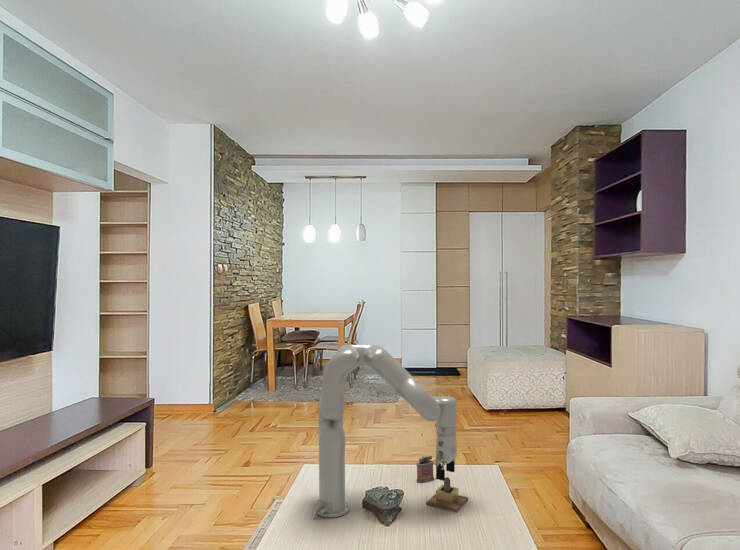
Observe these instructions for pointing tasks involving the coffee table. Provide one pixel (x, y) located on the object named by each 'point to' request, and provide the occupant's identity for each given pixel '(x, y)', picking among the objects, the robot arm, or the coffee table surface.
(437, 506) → the stacked peg stand
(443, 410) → the robot arm
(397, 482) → the coffee table surface
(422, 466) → the lighter
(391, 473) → the coffee table surface
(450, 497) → the collar
